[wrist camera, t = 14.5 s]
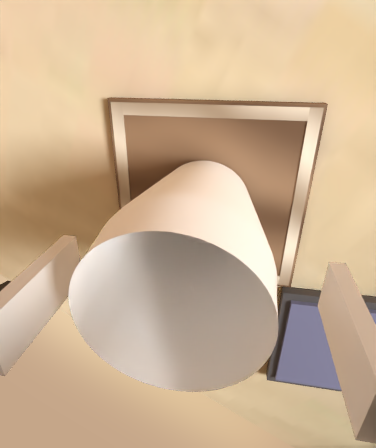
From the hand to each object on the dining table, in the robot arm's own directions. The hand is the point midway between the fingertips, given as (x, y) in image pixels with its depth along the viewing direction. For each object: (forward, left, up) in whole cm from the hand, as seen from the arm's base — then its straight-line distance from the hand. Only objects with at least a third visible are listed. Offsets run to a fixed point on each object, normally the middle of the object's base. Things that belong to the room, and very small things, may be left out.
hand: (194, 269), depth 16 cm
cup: (0, 0, -8) cm, 8 cm away
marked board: (0, 0, -8) cm, 9 cm away
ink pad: (-13, -12, -8) cm, 19 cm away
